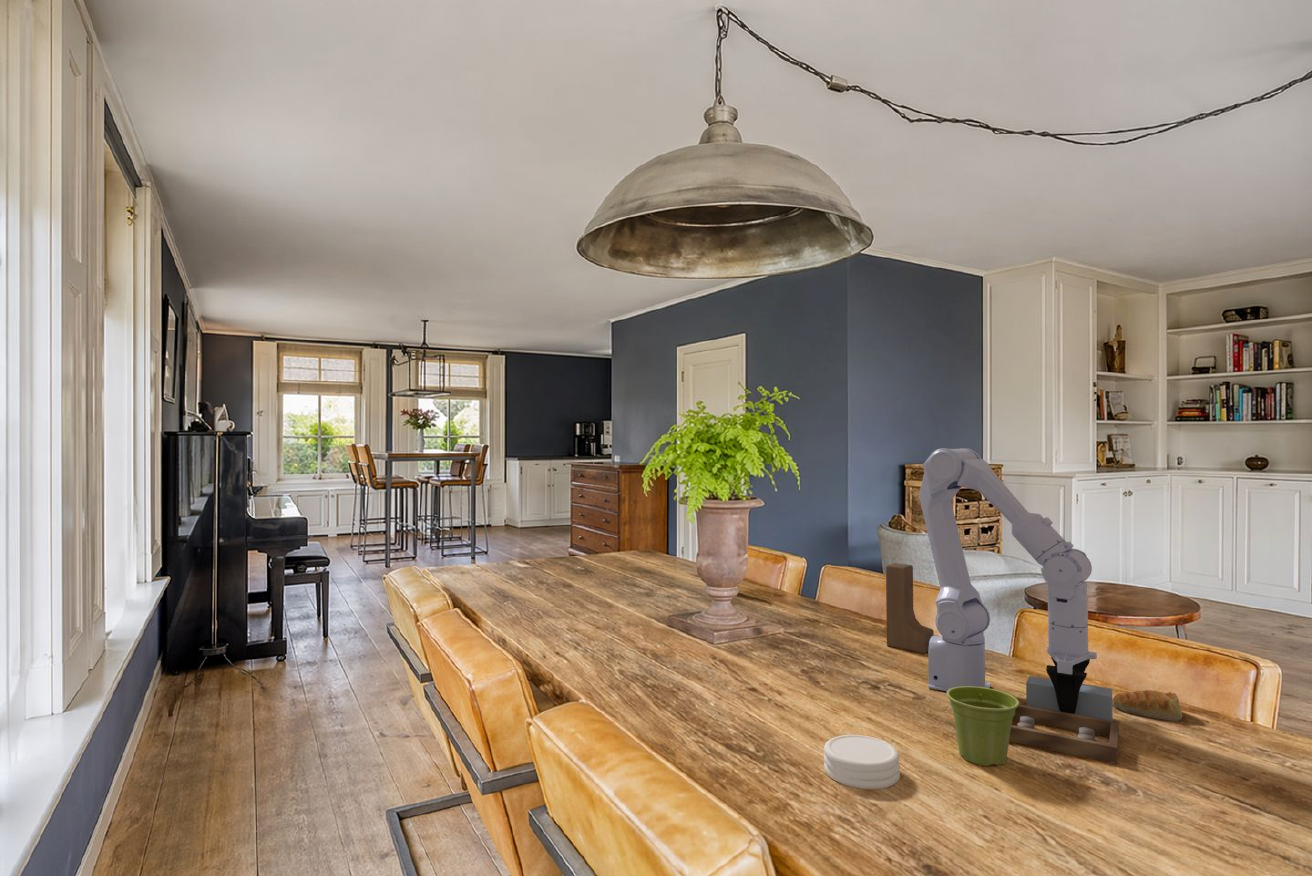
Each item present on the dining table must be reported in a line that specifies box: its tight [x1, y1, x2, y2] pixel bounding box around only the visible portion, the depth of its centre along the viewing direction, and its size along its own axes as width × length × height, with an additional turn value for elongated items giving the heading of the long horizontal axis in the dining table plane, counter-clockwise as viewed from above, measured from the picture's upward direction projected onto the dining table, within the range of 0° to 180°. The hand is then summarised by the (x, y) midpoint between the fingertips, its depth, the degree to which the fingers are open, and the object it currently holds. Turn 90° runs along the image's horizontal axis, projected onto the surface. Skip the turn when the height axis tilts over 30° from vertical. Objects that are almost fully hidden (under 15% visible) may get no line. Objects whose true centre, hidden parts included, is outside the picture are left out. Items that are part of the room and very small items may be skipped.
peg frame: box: [1009, 703, 1120, 765], centre depth 107 cm, size 16×11×2 cm
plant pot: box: [946, 686, 1020, 767], centre depth 101 cm, size 9×9×9 cm
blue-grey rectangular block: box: [1025, 675, 1114, 721], centre depth 116 cm, size 12×4×5 cm, turn 56°
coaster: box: [823, 734, 901, 790], centre depth 97 cm, size 10×10×4 cm
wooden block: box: [885, 562, 935, 654], centre depth 155 cm, size 9×4×18 cm, turn 45°
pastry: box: [1112, 689, 1183, 722], centre depth 118 cm, size 9×7×4 cm
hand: (1068, 706), depth 116 cm, fingers open, 6 cm apart
